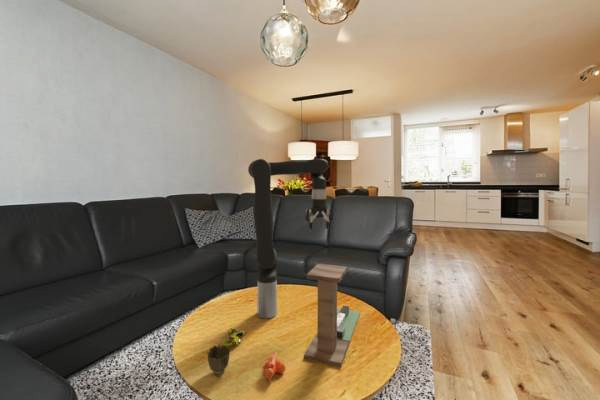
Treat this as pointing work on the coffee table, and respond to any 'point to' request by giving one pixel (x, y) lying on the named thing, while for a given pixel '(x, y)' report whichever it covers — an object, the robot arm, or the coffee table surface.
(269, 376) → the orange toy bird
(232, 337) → the toy motorcycle
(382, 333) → the coffee table surface
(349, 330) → the mat
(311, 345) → the stand
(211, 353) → the cup
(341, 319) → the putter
